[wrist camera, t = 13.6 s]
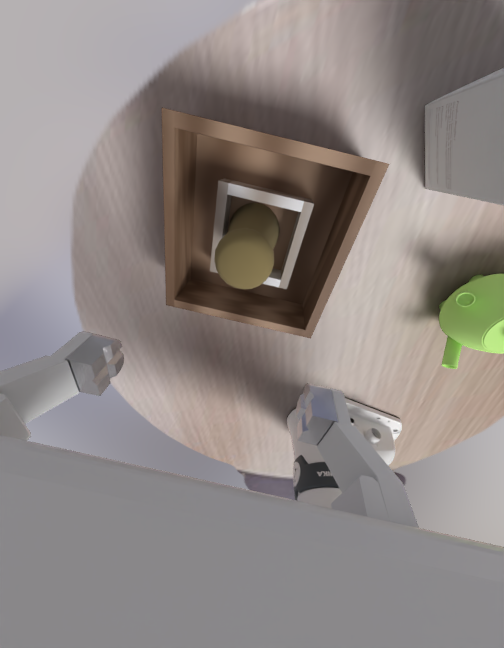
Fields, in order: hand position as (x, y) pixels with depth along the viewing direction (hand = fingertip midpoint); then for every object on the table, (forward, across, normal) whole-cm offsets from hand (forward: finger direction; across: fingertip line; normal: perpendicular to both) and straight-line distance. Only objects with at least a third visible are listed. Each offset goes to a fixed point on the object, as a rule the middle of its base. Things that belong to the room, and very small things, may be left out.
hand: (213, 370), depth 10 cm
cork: (+22, -1, 0) cm, 22 cm away
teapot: (+24, +29, -3) cm, 37 cm away
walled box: (+23, 0, 0) cm, 23 cm away
